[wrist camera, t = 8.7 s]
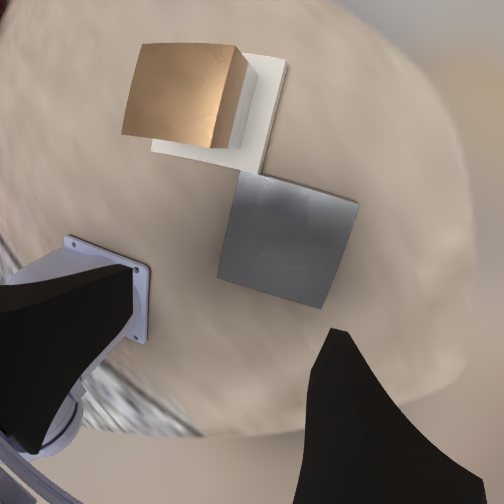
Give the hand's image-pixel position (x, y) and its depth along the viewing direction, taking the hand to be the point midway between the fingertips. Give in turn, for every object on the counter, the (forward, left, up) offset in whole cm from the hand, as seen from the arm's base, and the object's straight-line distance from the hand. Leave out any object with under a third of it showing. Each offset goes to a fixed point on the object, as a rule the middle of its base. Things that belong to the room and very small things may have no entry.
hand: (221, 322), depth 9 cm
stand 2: (+1, +1, -9) cm, 9 cm away
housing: (-5, +7, -8) cm, 12 cm away
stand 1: (-5, +8, -9) cm, 13 cm away
